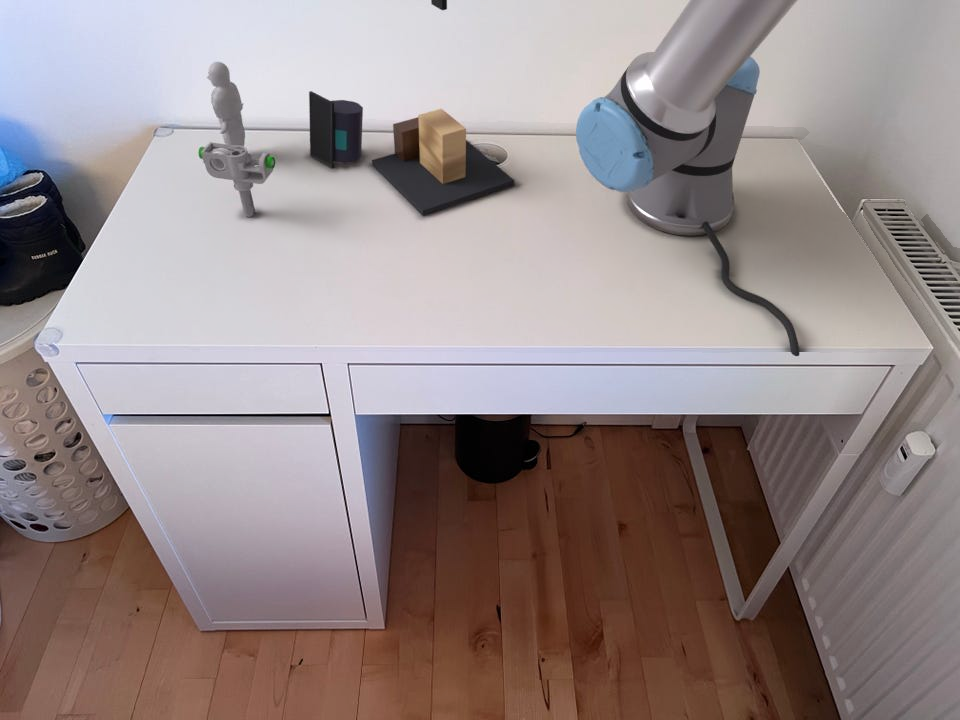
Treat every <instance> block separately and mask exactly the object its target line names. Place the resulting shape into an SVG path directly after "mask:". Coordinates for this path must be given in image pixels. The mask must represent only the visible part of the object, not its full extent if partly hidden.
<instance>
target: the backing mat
mask: <svg viewBox="0 0 960 720" xmlns="http://www.w3.org/2000/svg"><path fill="white" fill-rule="evenodd" d="M371 165H372V167H373V168H374V170H376V172H378V173H379V174H380V175H381V176H382V177H383V178H384V179H385V180H386V181H387V182H388V183H389V184H390V185H391V186H392V187H393V188H394V189H395V190H396V191H397V192H398V193H399V194H400V195H401V196H402V197H403V198H404V199H405V200H406V201H407V202H408V203H409V204H410V206H412V207H413V208H414V209H415V210H416V211H417V212H418V213H419V214H420V215H421V216H422V217H424V216H428V215H430V214H433V213H437V212H439V211H442V210H445V209H449V208H452V207H455V206H457V205H461V204H464V203H467V202H469V201H473V200H476V199H479V198H481V197H485V196H488V195H490V194H494V193H497V192H499V191H502V190H506V189H510V188H511V187H514V186H515V179H514V178H512V176H511V175H509V174H508V173H506V172H505V170H503V169H502V168H501V167H499V166H498V165H497V164H496V163H495V162H494V161H492V160H491V159H489V158H488V157H487V156H486V155H485V154H484V153H482V152H481V151H480V150H479V149H477V148H476V147H475V146H474V145H473V144H472V143H470V142H469V141H468V140H467V139H466V172H465V177H464V178H461V179H458V180H454V181H451V182H448V183H445V184H442V183H441V182H440V181H439V180H438V179H437V178H436V177H435V176H434V175H432V174H431V173H430V172H429V171H428V170H427V169H426V168H425V167H424V166H423V165H422V164H421V163H420V157H418V158H415V159H411V160H408V161H405V162H404V161H402V160H401V159H400V158H399V157H398V156H397V155H396V154H395V153H392V154H388V155H385V156H382V157H377V158H374V159H372V160H371Z"/></svg>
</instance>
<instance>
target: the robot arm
mask: <svg viewBox="0 0 960 720" xmlns="http://www.w3.org/2000/svg"><path fill="white" fill-rule="evenodd" d="M798 1H799V0H689V1H688V3H686V6H685V7H684V8H683V10H682V11H681V12H680V14H679V15H678V17H677V18H676V19H675V21H674V23H673V24H672V26H671V27H670V29H669V30H668V31H667V33H666V34H665V36H664V37H663V38H662V40H661V41H660V43H659V44H658V46H657V47H656V49H655V50H654V51H647V52H643V53H641V54H639V55H637V56H636V57H635V58H633V60H632V61H631V62H630V63H629V65H628V66H627V68H626V69H625V71H624V72H623V73H622V75H621V76H620V78H619V79H618V80H617V82H616V84H615V85H614V87H613V88H612V90H611V91H609V92H608V93H607V94H606V95H605V96H601V97H597V98H595V99H593V100H592V101H591V102H590V103H589V104H587V105H586V106H585V107H584V108H583V109H582V110H581V112H580V114H579V116H578V118H577V121H576V127H575V137H576V143H577V146H578V152H579V155H580V158H581V160H582V162H583V164H584V166H585V168H586V169H587V171H588V172H589V173H590V175H591V176H592V177H593V178H594V179H595V180H596V181H597V182H598V183H599V184H600V185H602V186H603V187H605V188H607V189H609V190H611V191H616V192H619V193H627V197H626V198H627V199H626V201H627V206H628V209H629V210H630V212H631V213H632V214H633V216H635V218H637V219H638V220H639V221H641V222H642V223H643V224H645V225H647V226H648V227H651V228H653V229H656V230H657V231H661V232H664V233H667V234H672V235H679V236H705V235H706V236H707V237H708V239H709V241H710V243H711V245H712V246H713V248H714V249H715V251H716V252H717V254H718V256H719V258H720V260H721V272H720V277H721V281H722V283H723V286H725V288H726V289H728V290H729V291H730V292H731V293H732V294H734V295H736V296H738V297H740V298H742V299H745V300H747V301H750V302H752V303H755V304H757V305H759V306H761V307H763V308H764V309H765V310H767V311H768V312H769V313H771V314H772V315H773V316H774V317H775V318H776V319H777V320H778V321H779V322H780V323H781V324H782V326H783V328H784V329H785V332H786V334H787V335H786V336H787V338H788V342H789V348H790V353H791V355H793V356H794V357H799V356H800V346H799V340H798V337H797V333H796V330H795V327H794V325H793V323H792V322H791V319H789V317H788V316H787V315H786V314H785V313H784V312H783V311H782V310H780V308H779V307H777V306H776V305H775V304H773V302H771V301H769V300H768V299H766V298H764V297H762V296H760V295H758V294H756V293H753V292H750V291H747V290H745V289H743V288H741V287H739V286H738V285H736V284H734V282H733V281H732V280H731V278H730V266H731V265H730V260H729V256H728V254H727V252H726V250H725V248H724V246H723V245H722V243H721V241H720V240H719V239H718V237H717V235H716V232H717V231H719V230H721V229H723V228H724V227H726V225H727V224H728V223H730V220H731V217H732V215H733V211H734V208H735V196H734V195H735V194H734V191H733V187H734V185H733V166H734V163H735V159H736V155H737V152H738V149H739V146H740V143H741V140H742V137H743V134H744V130H745V128H746V124H747V121H748V117H749V114H750V111H751V108H752V104H753V101H754V98H755V95H756V94H757V92H758V90H757V86H758V81H759V78H760V72H761V71H760V66H759V64H758V63H757V61H756V60H755V59H754V58H753V57H752V55H753V54H754V53H755V52H756V50H757V49H758V48H759V47H760V46H761V45H762V43H763V42H764V41H765V40H766V38H767V37H768V36H769V35H770V34H771V33H772V31H774V29H775V28H776V27H777V26H778V24H779V23H780V22H781V21H782V20H783V19H784V17H785V16H786V15H788V13H789V11H790V10H791V9H792V8H793V7H794V6H795V4H796V3H797V2H798ZM430 4H431V5H432V6H434V7H436V8H437V9H439V10H440V11H446V10H448V0H430Z"/></svg>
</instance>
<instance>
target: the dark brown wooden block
mask: <svg viewBox="0 0 960 720" xmlns="http://www.w3.org/2000/svg"><path fill="white" fill-rule="evenodd" d="M392 129H393V144H394V145H393V146H394V154H396V155H397V156H398V157H399V158H400V159H401V160H402V161H404V162H405V161H408V160H411V159H415V158H418V157H420V147H419V119H418V116H417V117H414V118H410V119H407V120H403V121H399V122H396V123H393V124H392Z"/></svg>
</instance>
